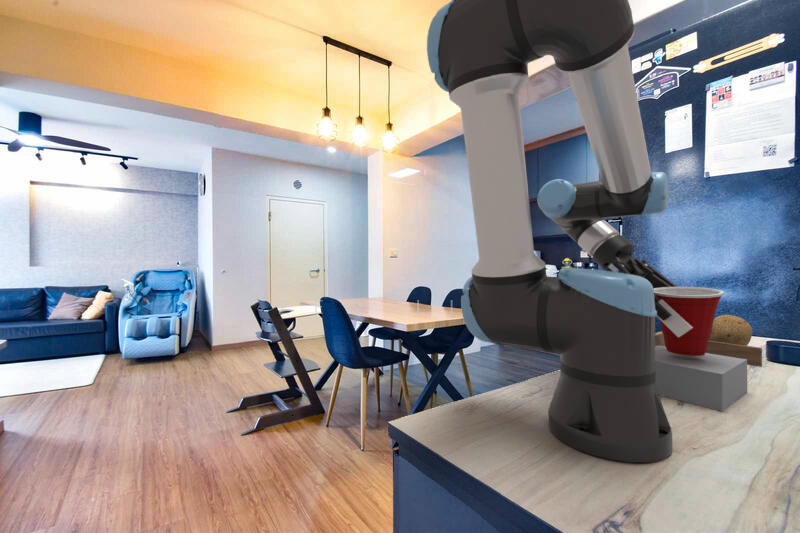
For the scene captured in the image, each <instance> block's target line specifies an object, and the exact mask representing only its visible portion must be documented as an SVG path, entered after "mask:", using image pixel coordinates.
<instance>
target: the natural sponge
mask: <svg viewBox="0 0 800 533" xmlns="http://www.w3.org/2000/svg"><path fill="white" fill-rule="evenodd" d="M752 336H753V327H752V326H751V324H750V323H749V322H748V321H746V320H745V319H743V318H742V317H739V316H736V315H732V314H721V315H718V316H716V317H714V321H713V325H712V330H711V334H710V337H709V340H708V341H715V342H723V343H730V344H737V345H745V346H749V343H750V342H751V340H752Z"/></svg>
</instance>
